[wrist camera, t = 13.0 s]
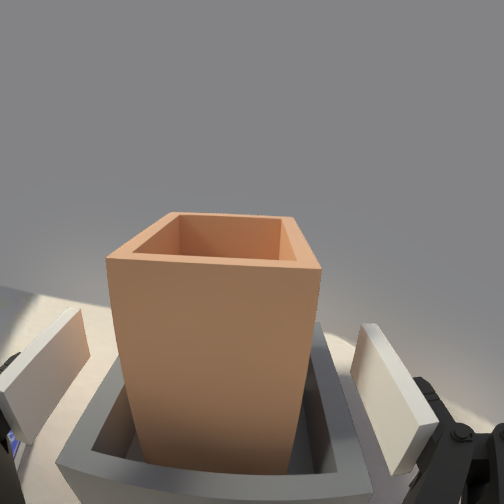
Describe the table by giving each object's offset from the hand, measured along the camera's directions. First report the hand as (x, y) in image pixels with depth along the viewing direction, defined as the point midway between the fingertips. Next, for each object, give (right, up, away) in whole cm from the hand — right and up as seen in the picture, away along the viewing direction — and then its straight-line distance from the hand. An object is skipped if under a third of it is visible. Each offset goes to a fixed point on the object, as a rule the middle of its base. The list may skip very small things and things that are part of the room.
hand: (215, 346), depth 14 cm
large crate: (0, -9, +6) cm, 11 cm away
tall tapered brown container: (0, -8, +6) cm, 10 cm away
